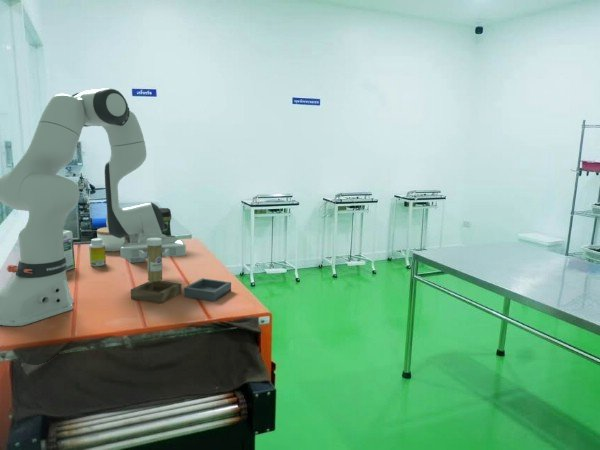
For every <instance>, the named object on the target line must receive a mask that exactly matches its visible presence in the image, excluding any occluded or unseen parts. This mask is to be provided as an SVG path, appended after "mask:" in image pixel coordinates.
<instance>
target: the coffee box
mask: <svg viewBox="0 0 600 450" xmlns="http://www.w3.org/2000/svg"><path fill="white" fill-rule="evenodd" d="M139 234H140V233H136V234H132V235H129V236H126V237H124V244H126V243H138V238H139ZM125 260H127V261H128V262H129V263H131V264H133V263H140V262H141V263H142V262H146V261H147V258H145V259H143V258H126V259H125Z"/></svg>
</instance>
